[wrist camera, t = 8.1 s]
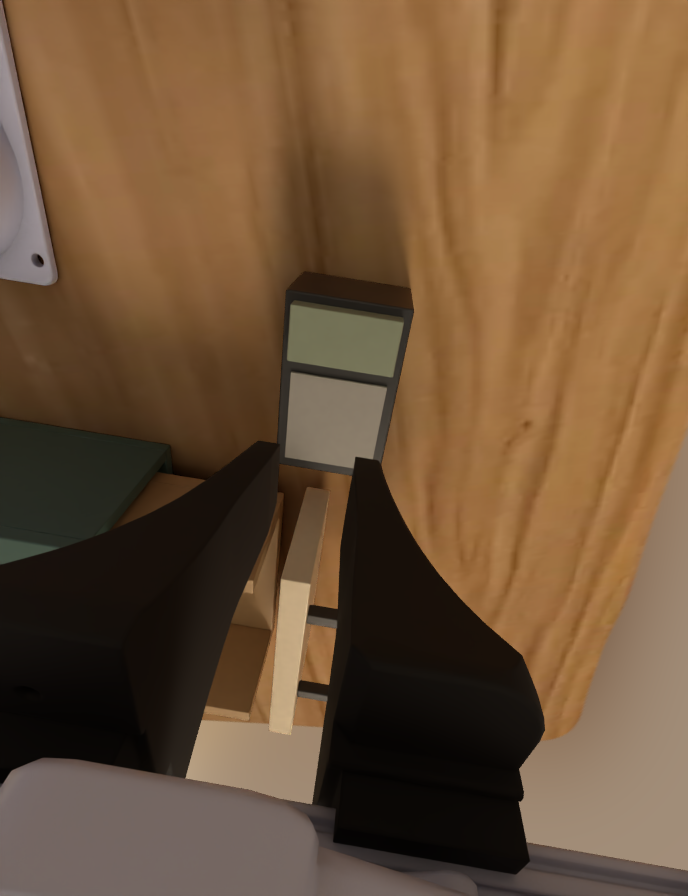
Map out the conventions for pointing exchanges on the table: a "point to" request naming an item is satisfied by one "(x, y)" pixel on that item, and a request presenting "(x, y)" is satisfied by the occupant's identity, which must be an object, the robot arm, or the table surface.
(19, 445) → the cabinet
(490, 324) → the table surface
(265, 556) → the drawer
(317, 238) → the table surface
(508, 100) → the table surface
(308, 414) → the dark rectangular block
